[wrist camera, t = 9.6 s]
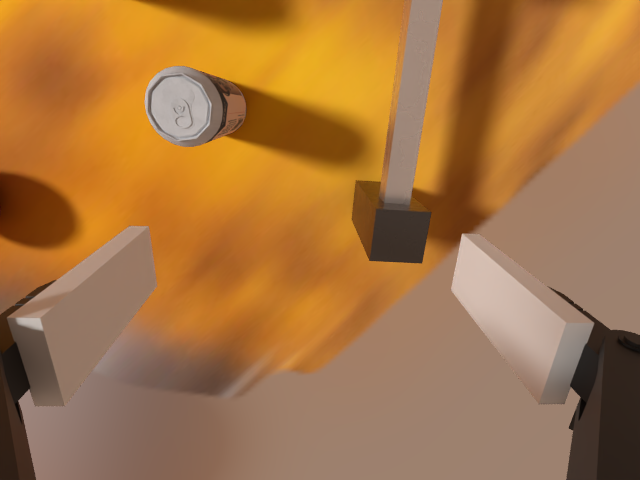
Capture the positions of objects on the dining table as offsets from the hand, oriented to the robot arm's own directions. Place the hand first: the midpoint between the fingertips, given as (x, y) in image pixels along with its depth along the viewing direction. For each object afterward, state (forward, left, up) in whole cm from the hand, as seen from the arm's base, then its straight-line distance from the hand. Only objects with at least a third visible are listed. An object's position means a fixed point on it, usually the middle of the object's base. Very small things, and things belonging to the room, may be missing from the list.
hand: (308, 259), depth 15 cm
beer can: (-5, -8, -22) cm, 24 cm away
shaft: (-8, +7, -21) cm, 23 cm away
